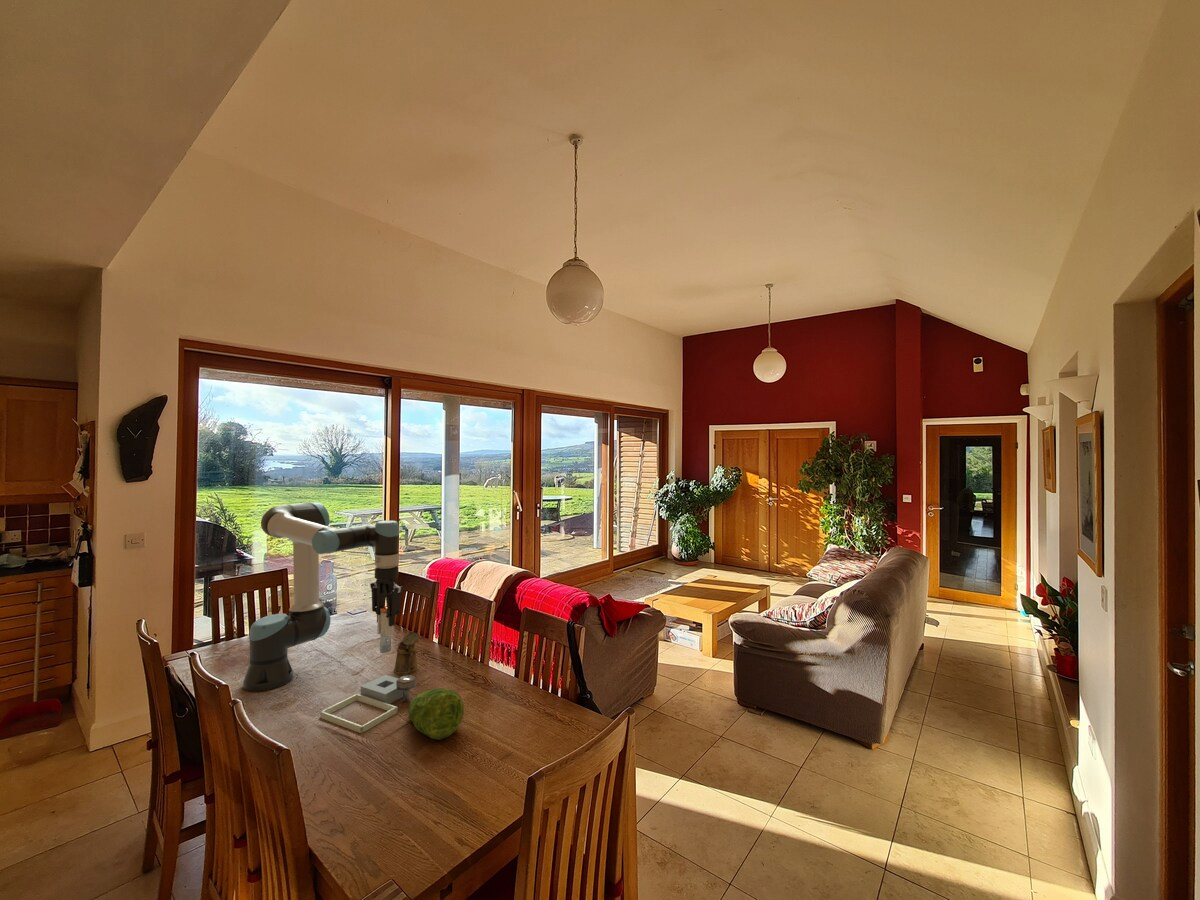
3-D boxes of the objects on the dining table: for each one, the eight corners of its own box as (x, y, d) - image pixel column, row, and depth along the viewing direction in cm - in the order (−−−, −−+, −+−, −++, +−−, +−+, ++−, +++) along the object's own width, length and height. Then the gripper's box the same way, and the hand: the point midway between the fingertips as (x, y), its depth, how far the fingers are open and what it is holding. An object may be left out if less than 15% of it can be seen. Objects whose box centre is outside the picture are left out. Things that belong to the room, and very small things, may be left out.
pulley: (391, 705, 165) (392, 680, 165) (406, 697, 171) (407, 672, 171) (405, 709, 162) (405, 684, 162) (420, 701, 168) (420, 676, 168)
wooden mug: (399, 684, 180) (400, 634, 180) (390, 670, 191) (391, 624, 191) (424, 677, 185) (425, 630, 185) (414, 665, 196) (415, 619, 196)
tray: (320, 720, 155) (320, 711, 155) (357, 701, 167) (357, 693, 167) (361, 736, 147) (361, 727, 147) (397, 715, 159) (397, 706, 159)
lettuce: (435, 721, 163) (437, 678, 167) (470, 735, 147) (471, 687, 150) (392, 731, 154) (395, 685, 157) (424, 747, 138) (427, 695, 141)
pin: (376, 651, 169) (377, 608, 169) (386, 648, 172) (386, 605, 172) (384, 654, 167) (385, 609, 167) (393, 650, 170) (394, 606, 171)
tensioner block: (360, 701, 168) (360, 686, 168) (385, 688, 177) (385, 674, 177) (385, 709, 162) (385, 694, 162) (409, 696, 171) (409, 681, 171)
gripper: (360, 565, 170) (359, 633, 170) (394, 571, 163) (393, 641, 163) (379, 561, 177) (378, 626, 177) (412, 566, 169) (411, 634, 169)
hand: (385, 633), depth 170 cm, fingers closed on pin, 3 cm apart
